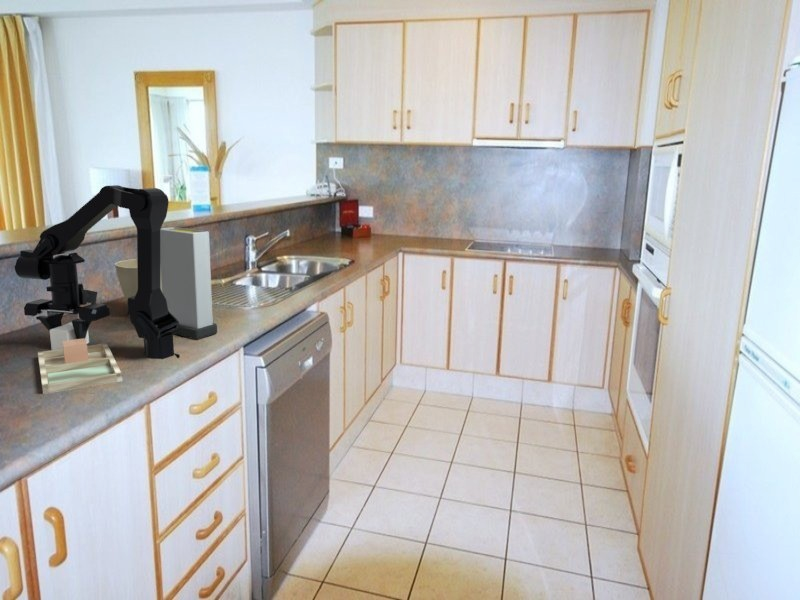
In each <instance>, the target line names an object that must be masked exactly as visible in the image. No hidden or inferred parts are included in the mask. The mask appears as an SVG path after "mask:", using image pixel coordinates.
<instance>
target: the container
mask: <svg viewBox="0 0 800 600" xmlns="http://www.w3.org/2000/svg"><path fill="white" fill-rule="evenodd" d="M210 247H211V246H210V232H209V231H207V230H201V229H200V230H199V229H198V230H197V229H192V228H191V229H190V228H183V227H175V226H174V227H173V226H172V227H164V228H162V227H161V230H160V264H161V280H162V293H163V295H164V297H165V298H166V301H167V307H168V311H169V312H170V313H171V314H172V315H173V316H174V317H175V318H176V319H177V320H178V321H179V324H178V327H177V329H176V330H173V331H171V333H172V334H173V335H178V336H181V337H186V338H190V339H193V340H200V339H203V338H207V337H209V336H214V335H216V334H217V333H218V324H217V323H215V322H214V321H213V299H212V298H213V296H212V273H211V252H210V251H211V248H210ZM213 322H214V323H213Z"/></svg>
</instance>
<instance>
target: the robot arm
mask: <svg viewBox="0 0 800 600" xmlns="http://www.w3.org/2000/svg"><path fill="white" fill-rule="evenodd" d="M169 203H170V202H169V197H168V195H167V194H166V193H165V192H164V191H163V190H162V189H160V188H157V187H153V188H152V187H151V188H132V187H126V186H122V185H117V184H116V185H115V184H114V185H105V186H103V187H102V188H101V189H100V190H99V191H98V193H96V194H95V195H94V196H93V197H92V198H91V199H89V200H88V201H87V202H86V203H85V204H83V205H82V207H80V208H79V209H78V210H76V212H75V213H73V214H72V215H71V216H70V217H69V218H67V219H65V220H63V221H62V222H58V223H56V224H54V225H52V226H49V227H48V228H46V229H44V230H42V232H41V233H40V234H39V241H38V243H37V244H36V246H35V248H34V249H23V250H20V252H19V253H20V256H19V257H17V259H16V261H15V265H14V270H15V273H16V275H17V276H18V277H19V278H21V279H27V280H28V279H29V280H30V279H31V280H41V281H42V280H43V281H44V280H49V286H46V287H45V288H46V292H50V295H51V299H47V298H46V299H45V298H39V299H36V300H33V301H29V302H26V304H25V305H24V306H23V313H24V316H30V317H35V319H36V320H38V321H40V323H41V324H42V325H43V326H44V327H45V328H46V330H48V332H49V333H50V330H51V329H54V328H56V327H59V326H62V319H63V317H64V314H69V315H77V318H76V319H73V320H71V322H72V324H73V328H74V331H75V335H76V339H83V338H85V337H86V334H87V331H88V332H89V328H90V326H91V324H92V322H95V321H98V320H101V319H103V318H106V317H109V316H110V315H111V313H110V307H109V305H107V304H104V303H97V298H98V291H93V290H88V289H84V285H83V283H79V277H78V267H77V264H81V263H85V261H86V260H85V259H84V258H83V257H82V256H80V255H79V254H78V253H77V252H74V251H75V250H77V249H78V248H79V247H80V246H81V244H82V242H84V240H85V238H86V234H87V233H88V231H90V230H91V228H93V227H94V226H96V224H97V223H99V222H100V221H101V220H103V218H104V217H106V216H108V214H110V212H113V210H114V209H115V208H117V207H119V208H121V209H127V210H129V211H128V212H129V217H130V218H131V221H132V222H133V224H134V226H135V227H136V253H137V254H136V259H137V278H138V290H137V293H136V295H135V296H132V297H130V298H128V301H127V302H126V304H127V303H128V304H127V313H126V316H129V321H130V323H131V324H132V325H133V327H134V330H135V332H136V334H137V337H138V338H139V339H143V347H144V349H143V350H144V354H145V355H146V357H147V358H149V359H153V360H154V359H155V360H164V359H168V358H171V357H173V356H175V357H176V358H180V354H178V353H175V347H174V344H175V343H174V334H173V333H171V331H173V330H176V329H177V327H178V324H179V321H178V320H177V319H176V318H175V317H174V316H173V315H172V314H171V313H170V312H169V311H168V307H167V301H166V298H165V297H164V295H163V293H162V291H161V288H160V230H161V228H162V227H163V225H164V222H165V219H166V217H167V214H168V209H169ZM72 251H73V252H72ZM67 252H68V255H66V254H65V253H67ZM69 252H72V253H69ZM54 256H55V257H54Z"/></svg>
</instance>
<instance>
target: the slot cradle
mask: <svg viewBox="0 0 800 600" xmlns="http://www.w3.org/2000/svg"><path fill="white" fill-rule="evenodd" d="M87 350H88V360H87V361H80V362H73V363H66V364H65V362H64V356H63V349H57V350H52V349H51V350H43V351H37V357H38V365H39V372H40V380H41V389H42V394H43V395H44V394H52V393H57V392H63V391H64V392H65V391H70V390H76V389H83V388H88V387H95V386H100V385H105V384H112V383H117V382H118V383H119V382H123V374H122V371H121V370H120V369H121V368H120V367H119V365H118V364H117V360H115V356H114V355H113V353H112V351H111V349H110V347H109V345H108V343H107V342H106V343H105V342H104V343H98V344H90V345H87Z"/></svg>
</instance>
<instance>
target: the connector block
mask: <svg viewBox="0 0 800 600" xmlns="http://www.w3.org/2000/svg"><path fill="white" fill-rule="evenodd" d="M89 335H90V334H89V330H88V331H87V334H86V337H85V340H86V343H87V344H89V343H90V337H89ZM49 336H50V338H49V339H50V346H51V350H57V349H63V346H62V341H66V340H74V339H76V335H75V331H74V328H73V324H72V321H70V322H68V323H65V324H63V325H62V326H59V327H56V328H54V329H51V330H50V332H49Z"/></svg>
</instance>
